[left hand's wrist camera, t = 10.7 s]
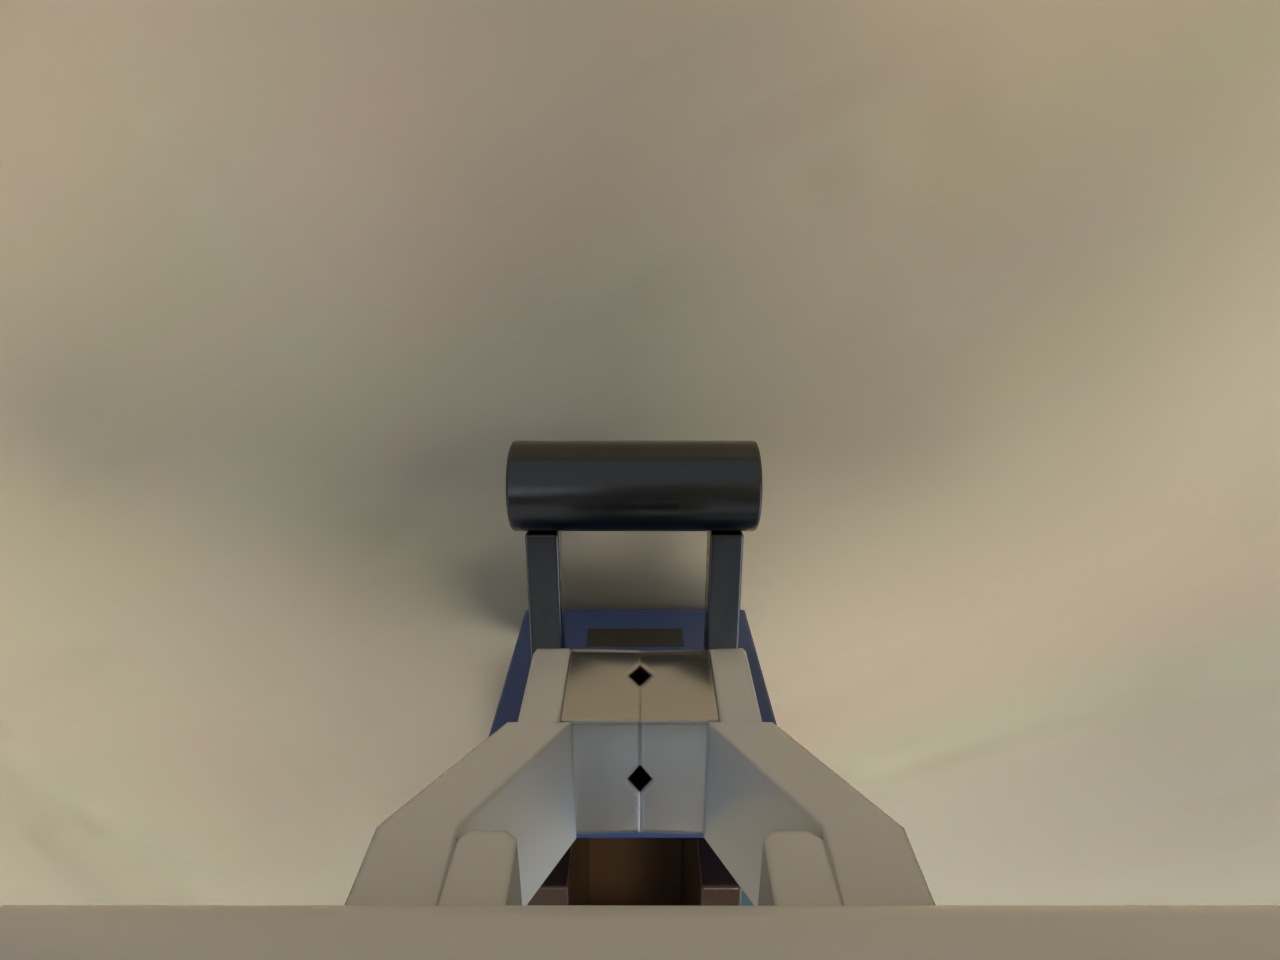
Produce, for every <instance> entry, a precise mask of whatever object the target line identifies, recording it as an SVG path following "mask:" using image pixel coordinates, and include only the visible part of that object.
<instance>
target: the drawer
mask: <svg viewBox="0 0 1280 960" xmlns="http://www.w3.org/2000/svg"><path fill="white" fill-rule="evenodd" d="M506 505H507V514H508V519H509V523H510V526H511V528H512V530H514V531H527V532H526V535H525V545H526V564H527V583H528V602H529V610H526V612H525V615H524V619H523V622H522V626H521V629H520V632H519V636H518V639H517V643H516V646H515V649H514V653H513V656H512V660H511V663H510V666H509V670H508V673H507V677H506V680H505V684H504V687H503V690H502V694H501V697H500V701H499V704H498V707H497V711H496V714H495V718H494V721H493V724H492V728H491V731H490V735H489V737H490V736H491V735H492V734H493V733H495V732H496V731H497V730H498V729H500V728H501V727H502V726H503V725H505V724H506V723H507V722H518V719H519V714H520V710H521V706H522V701H523V697H524V692H525V688H526V684H527V679H528V675H529V671H530V666H531V662H532V658H533V654H534V652H535V651H536V650H537V649H570V650H572V649H607V650H640V651H677V650H709V649H732V648H743V649H744V650H745V651H746V654H747V658H748V663H749V667H750V671H751V676H752V680H753V684H754V689H755V693H756V697H757V701H758V706H759V710H760V714H761V719H762V722H773V723H774V724H775V725H777V724H776V721H775V717H774V714H773V710H772V707H771V703H770V699H769V696H768V692H767V689H766V685H765V682H764V678H763V674H762V671H761V667H760V664H759V660H758V657H757V653H756V649H755V646H754V642H753V639H752V635H751V632H750V628H749V625H748V621H747V617H746V614H745V611H744V610H740V597H741V577H742V557H743V537H744V536H743V533H742V531H754V530H756V529H757V527H758V524H759V520H760V515H761V507H762V466H761V457H760V452H759V448H758V445H757V443H756V442H754V441H514V442H512V444H511V446H510V449H509V453H508V458H507V467H506ZM561 531H707V560H706V591H705V610H564V593H563V565H562V537H561ZM741 895H742V889H741V887H740V886H739V885H738V883H737V882H736V880H735V879H734V878H733V876H732V875H731V874H730V872H729V871H728V870H727V868H726V867H725V866H724V864H723V863H722V862H721V860H720V859H719V857H718V856H717V855H716V853H715V852H714V851H713V849H712V848H711V847H710V845H709V844H708V843H707V841H706V840H705V839H704V834H672V833H607V834H576V839H575V841H574V842H573V843H572V845H571V846H570V847H569V849H568V850H567V851H566V853H565V854H564V856H563V857H562V858H561V860H560V861H559V862H558V864H557V865H556V866H555V868H554V869H553V870H552V872H551V873H550V874H549V876H548V877H547V878H546V880H545V881H544V882H543V884H542V885H541V886H540V888H539V889H538V890H537V892H536V893H535V895H534V896H533V897H532V899H531V900H530V901H529V903H528V905H626V906H741Z"/></svg>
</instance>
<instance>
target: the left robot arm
mask: <svg viewBox="0 0 1280 960" xmlns="http://www.w3.org/2000/svg"><path fill="white" fill-rule="evenodd" d="M607 833H672V834H704V839H705V840H706V841H707V843H708V844H709V845H710V847H711V848H712V849H713V851H714V852H715V853H716V855H717V856H718V857H719V859H720V860H721V862H722V863H723V864H724V866H725V867H726V868H727V870H728V871H729V872H730V874H731V875H732V876H733V878H734V879H735V880H736V882H737V883H738V885H739V886H740V887H741V889H742V890H743V891H744V893H745V894H746V895H747V897H748V898H749V899H750V901H751V902H752V904H753V905H754V906H626V905H527V904H528V903H529V901H530V900H531V899H532V897H533V896H534V895H535V893H536V892H537V890H538V889H539V888H540V886H541V885H542V884H543V882H544V881H545V880H546V878H547V877H548V876H549V874H550V873H551V872H552V870H553V869H554V868H555V866H556V865H557V864H558V862H559V861H560V860H561V858H562V857H563V856H564V854H565V853H566V851H567V850H568V849H569V847H570V846H571V845H572V843H573V842H574V841H575V839H576V834H607ZM0 960H1280V905H1220V906H936V905H935V903H934V901H933V898H932V896H931V893H930V891H929V888H928V886H927V883H926V881H925V879H924V876H923V874H922V871H921V869H920V866H919V864H918V861H917V859H916V857H915V854H914V852H913V849H912V847H911V844H910V842H909V839H908V837H907V835H906V832H905V830H904V828H903V827H902V826H900V825H899V824H898V823H897V822H895V821H894V820H893V819H892V818H890V817H889V816H888V815H887V814H885V813H884V812H883V811H882V810H881V809H879V808H878V807H877V806H876V805H874V804H873V803H872V802H871V801H869V800H868V799H867V798H866V797H864V796H863V795H862V794H861V793H860V792H858V791H857V790H856V789H855V788H853V787H852V786H851V785H850V784H848V783H847V782H846V781H845V780H843V779H842V778H841V777H840V776H838V775H837V774H836V773H835V772H834V771H832V770H831V769H830V768H829V767H827V766H826V765H825V764H824V763H822V762H821V761H820V760H819V759H817V758H816V757H815V756H814V755H813V754H811V753H810V752H809V751H808V750H806V749H805V748H804V747H803V746H801V745H800V744H799V743H798V742H796V741H795V740H794V739H793V738H791V737H790V736H789V735H788V734H787V733H785V732H784V731H783V730H782V729H780V728H779V727H778V726H777V725H775V724H774V723H773V722H762V719H761V714H760V710H759V706H758V701H757V697H756V693H755V689H754V684H753V680H752V676H751V671H750V667H749V663H748V658H747V654H746V651H745V650H744V649H743V648H732V649H709V650H677V651H640V650H607V649H572V650H570V649H537V650H536V651H535V652H534V654H533V658H532V662H531V666H530V671H529V675H528V679H527V684H526V688H525V692H524V697H523V701H522V706H521V710H520V714H519V719H518V722H507V723H506V724H505V725H503V726H502V727H501V728H500V729H498V730H497V731H496V732H495V733H493V734H492V735H491V736H490V737H488V738H487V739H486V740H485V741H483V742H482V743H481V744H480V745H479V746H477V747H476V748H475V749H474V750H472V751H471V752H470V753H469V754H467V755H466V756H465V757H464V758H462V759H461V760H460V761H459V762H457V763H456V764H455V765H454V766H452V767H451V768H450V769H449V770H447V771H446V772H445V773H444V774H442V775H441V776H440V777H439V778H438V779H436V780H435V781H434V782H433V783H431V784H430V785H429V786H428V787H426V788H425V789H424V790H423V791H421V792H420V793H419V794H418V795H416V796H415V797H414V798H413V799H411V800H410V801H409V802H408V803H406V804H405V805H404V806H403V807H401V808H400V809H399V810H398V811H396V812H395V813H394V814H393V815H392V816H390V817H389V818H388V819H387V820H385V821H384V822H383V823H382V824H380V825H379V826H378V827H377V828H376V831H375V833H374V835H373V838H372V840H371V843H370V845H369V847H368V850H367V852H366V855H365V857H364V860H363V862H362V864H361V867H360V869H359V872H358V874H357V876H356V879H355V881H354V884H353V886H352V888H351V891H350V893H349V896H348V898H347V900H346V903H345V905H344V906H215V905H0Z"/></svg>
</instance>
